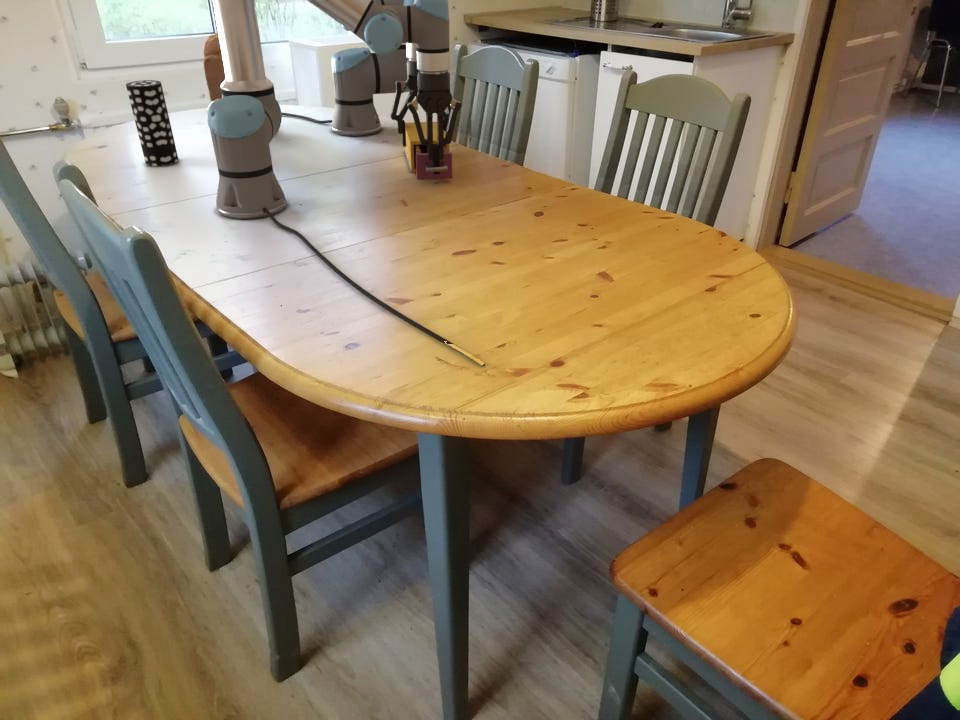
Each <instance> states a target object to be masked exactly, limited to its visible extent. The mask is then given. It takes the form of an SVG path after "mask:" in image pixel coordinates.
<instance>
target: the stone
mask: <svg viewBox="0 0 960 720" xmlns="http://www.w3.org/2000/svg"><path fill="white" fill-rule="evenodd" d="M202 53H203V59H202V62H203V63H202V64H203V70H204V76H205V81H206V87H207V89H208V95H209V100H210V104H211V103H212V102H213V101H215V100H217V99H222V92H221V85H222V83H223V82H224V81H225V79H226V74H225V68H224V62H223V56H222V50H221V45H220V39H219V33H218V32H217V33H215V34H211V35H208V37H207V38H206V40H205V41H204V44H203V45H202Z"/></svg>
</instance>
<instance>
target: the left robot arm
mask: <svg viewBox="0 0 960 720" xmlns="http://www.w3.org/2000/svg"><path fill="white" fill-rule="evenodd" d="M306 1H307V2H309V3H310V4H311V5H313V6H314V7H316V8H317V9H318V10H320V11H321V12H323V13H324V14H326V15H327V16H329V18H331V19H333V20H334V21H336V22H337V23H338V24H340V25H341V26H342V25H343V26H344V27H346V28H347V29H348V30H350V31H349V32H351V33H352V34H354V35H355V36H356V37H357V38H359V39H360V40H362V41H363V42H364V43H365V44H366V45H367V46H368V48H369V50H370V51H371V52H373V53H377V54H380V55H389V54H391V53H393V52H395V51H396V50H397V49H398V48H399V47H400V45H401V44H402V43H416V51H417V69H418V70H419V72H418V73H417V82H418V92H417V95H416V96H415V98H414V99H413V101H412V102H409V103H407V106H408V111H409V112H410V113H411V114H412V118H413V122H415V126H416V129H417V133H418V136H419V140H420V143H421V144H422V145H426V146H427V151H428V158H429V160H432V167H434V166H440V160H442V159H443V158H444V145H446V144H449V145H450V144H451V143H452V140H453V134H454V130H455V126H456V121H457V116H458V114H459V112H460V110H461V108H462V105H463V104H462V103H461V101H460V100H457V99H455V98H453V95H452V92H451V73H450V72H449V70H450V69H451V60H450V10H449V9H450V8H449V7H450V6H449V0H414V5H411V6H387V5H379V4H378V3H376V2H375V1H373V0H306ZM212 3H213V8H214V14H215V15H214V16H215V21H216V27H217V33H219V39H220V45H221V50H222V56H223V62H224V68H225V74H226V79H225V81H224V82H223V83H222V85H221V92H222V99H217V100H215V101H213V102H212V103H211V102H210V103H209V105H208V106H207V110H206V111H207V112H206V113H207V124H208V127H209V128H208V129H209V131H210V136H211V142H212V147H213V151H214V156H215V161H216V167H217V169H218V170H217V172H218V185H217V189H216V190H217V193H216V201H215V203H216V204H215V206H216V210H217V213H218V214H219V215H221V216H223V217H225V218H229V219H236V220H253V219H260V218H261V219H262V218H265V217H266V218H267V217H268V218H270V220H271V221H272V222H273V223H274V224H275V226H277V227H279V228H280V229H283V230H285V231H287V232H289V233H292V234H294V235H295V236H297V237H298V238H299V239H300V240H301V241H302V242H303V243H304V244H305V245H306V246H307V247H308V248H309V249H310V250H311V251H312V252H313V253H314V254H315V255H316V256H317V257H318V258H320V260H322V262H324V263H325V264H326V265H327V266H328V267H329V268H330V269H331V270H332V271H333V272H335V273H336V274H337V275H338V276H340V277H341V279H343V280H344V281H346V282H347V284H349V285H350V286H352V287H353V288H355V290H357V291H359V292H360V293H361V294H363V295H364V296H366V297H367V298H368V299H370V300H371V301H373V302H374V303H376V304H377V305H378V306H380V307H381V308H383V309H385V310H386V311H388V312H390V313H391V314H393V315H394V316H396V317H397V318H399V319H401V320H402V321H405V322H406V323H407V324H409V325H411V326H412V327H414V328H416V329H418V330H420V331H421V332H423V333H425V334H427V335H428V336H430V337H431V338H433V339H435V340H437V341H438V342H440V343H442V344H444V343H445V342H444V341H447V342H446V343H447V344H454V343H453V342H452V341H450V340H448V339H446V338H445V337H442V336H441V335H439V334H438V333H436V332H434V331H432V330H430V329H429V328H427V327H425V326H423V325H421V324H420V323H419V322H416V321H415V320H413V319H411V318H410V317H408V316H407V315H405V314H403V313H401V312H400V311H398V310H396V309H395V308H393V307H391V306H390V305H388V304H387V303H385V302H384V301H382V300H380V299H379V298H378V297H376V296H375V295H373V294H371V293H370V292H368V291H367V290H366V289H365V288H363V287H362V286H360V285H359V284H357V283H356V282H355V281H353V280H352V279H351V278H350V277H349V276H348V275H346V274H345V273H344V272H343V271H341V270H340V269H339V268H338V267H336V266H335V265H334V264H333V263H332V262H331V261H330V260H329V259H328V258H327V257H325V256H324V255H323V254H322V253H321V252H320V251H319V250H318V249H317V248H316V247H315V246H314V245H313V244H311V242H309V240H308V239H307V237H305V236H304V235H303V234H301V233H300V232H299V231H297V230H296V229H293V228H291V227H288V226H286V225H284V224H282V223H281V222H279V220H277V219H276V217H274V215H276V214H278V213H280V212H282V211H283V210H285V209H286V207H287V199H286V194H285V193H284V191H283V189H282V187H281V184H280V182H279V180H278V179H277V177H276V175H275V172H274V167H273V160H272V154H271V147H270V143H271V142H272V140H273V139H274V138H275V136H277V134H278V133H279V131H280V129H281V124H282V119H283V117H282V116H283V115H281V112H282V110H281V109H282V108H281V106H280V104H279V102H278V100H277V99H276V93H275V85H274V83H273V82H272V81H271V80H270V79H269V78H268V77H267V76H266V70H265V64H264V57H263V49H262V48H263V47H262V43H261V34H260V28H259V23H258V21H259V20H258V15H257V8H256V0H212ZM450 102H451V105H450V106H451V108H452V109H451V112H450V116H449V121H448V126H447V130H446V132H445V133H446V135H445V138H444V130H443V112H444V111H445V112H446V110H447V109H448V108H447V107H448V105H449V104H450ZM418 105H419V106H420V108H421V109H422V110H423V111H424V112H425V122H426V127H427V139H425V138H424V134H423V131H422V127H421V123H420V122H421V120H420V116H419V114H418V110H419V106H418ZM434 114H436V122H437V141H438V144H436V145H433V122H434V120H433V118H434ZM433 173H434V174H440V172H433Z"/></svg>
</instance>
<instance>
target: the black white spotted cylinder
mask: <svg viewBox="0 0 960 720" xmlns="http://www.w3.org/2000/svg"><path fill="white" fill-rule="evenodd" d="M125 87H126V91H127V95H128V99H129V103H130V107H131V110H132V115H133V118H134V122H135V123H134V124H135V127H136V130H137V134H138V139H139V143H140V146H141V150H142V155H143V158H144V163H145V164H146V165H147V166H151V167H164V166H170V165H174V164H176V163H178V162H179V155H178V150H177V146H176V142H175V137H174V133H173V128H172V125H171V121H170V116H169V111H168V107H167V103H166V98H165V93H164V89H163V84H162V81H161V80H155V79H154V80H153V79H151V80H150V79H145V80H144V79H141V80H134V81H130V82H129V81H128V82H127V83H126V84H125Z"/></svg>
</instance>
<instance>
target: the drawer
mask: <svg viewBox="0 0 960 720" xmlns="http://www.w3.org/2000/svg"><path fill="white" fill-rule="evenodd" d="M433 145H436V144H433ZM414 162H415V165H416V180H417V181H421V180H422V181H423V180H439V179H440V180H442V179H443V180H444V179H453V153H452V152H451V151H449V152H447V150H446V148H445V146H444V158H443V159H442V160H440V166H434V167H432V160H429V158H428V151H427V146H426V145H422V144H420V145H414ZM433 172H440V174H434V173H433Z"/></svg>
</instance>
